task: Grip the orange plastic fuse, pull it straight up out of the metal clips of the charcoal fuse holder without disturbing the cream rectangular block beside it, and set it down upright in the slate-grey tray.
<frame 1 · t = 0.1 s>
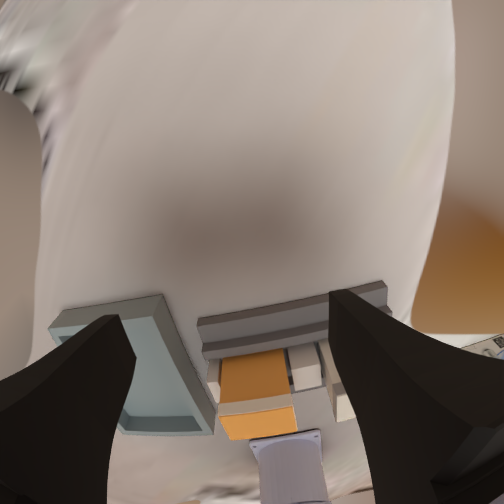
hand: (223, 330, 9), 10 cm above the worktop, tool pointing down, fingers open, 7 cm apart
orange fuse: (256, 364, 21), point 1 cm above the worktop, touching fuse holder
cream rectangular block: (346, 345, 21), point 1 cm above the worktop, touching fuse holder
light bulb box: (476, 358, 25), on the worktop
fuse holder: (299, 347, 22), on the worktop
slate tray: (140, 369, 23), on the worktop
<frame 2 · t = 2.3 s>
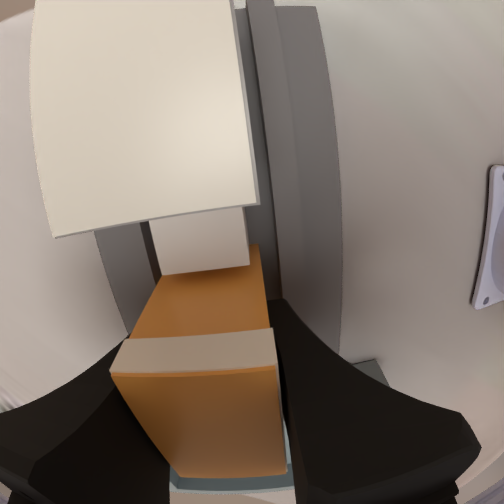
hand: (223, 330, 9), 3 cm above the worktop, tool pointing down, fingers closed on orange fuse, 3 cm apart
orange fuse: (225, 304, 11), point 1 cm above the worktop, touching fuse holder, gripper
cream rectangular block: (192, 104, 8), point 1 cm above the worktop, touching fuse holder
fuse holder: (211, 204, 10), on the worktop
slate tray: (255, 430, 16), on the worktop
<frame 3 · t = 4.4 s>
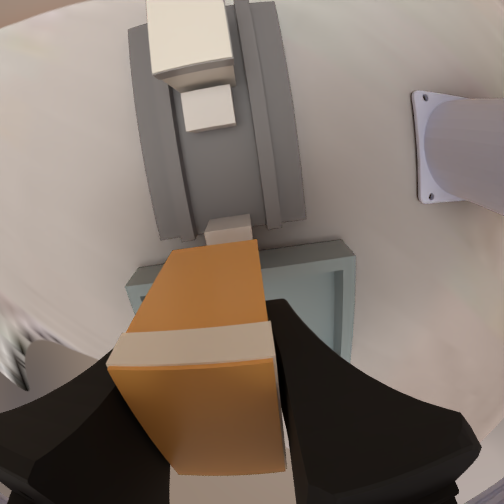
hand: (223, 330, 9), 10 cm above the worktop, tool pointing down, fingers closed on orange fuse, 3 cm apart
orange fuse: (224, 300, 11), point 8 cm above the worktop, touching gripper
cream rectangular block: (204, 56, 13), point 1 cm above the worktop, touching fuse holder
fuse holder: (214, 114, 16), on the worktop
slate tray: (248, 317, 21), on the worktop
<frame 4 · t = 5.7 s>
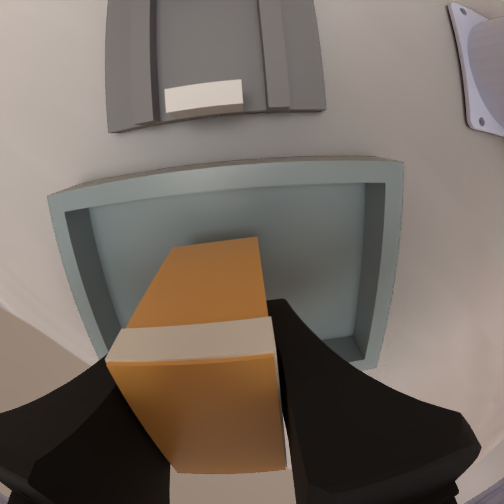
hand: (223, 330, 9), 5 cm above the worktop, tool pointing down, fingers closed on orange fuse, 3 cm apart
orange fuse: (224, 298, 11), point 3 cm above the worktop, touching gripper
slate tray: (229, 268, 14), on the worktop
when the fingers open (4 cm above the worktop, at t = 6.6 s): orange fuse drops 2 cm, resting on slate tray.
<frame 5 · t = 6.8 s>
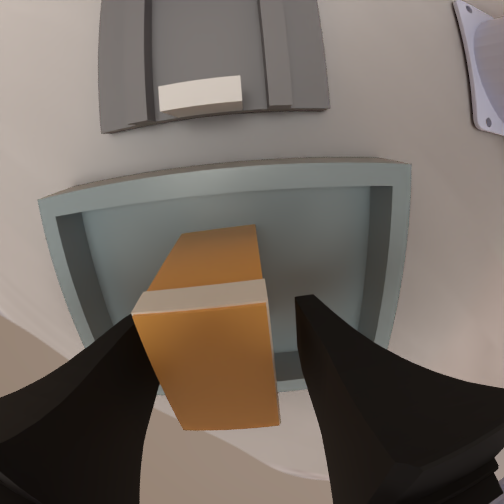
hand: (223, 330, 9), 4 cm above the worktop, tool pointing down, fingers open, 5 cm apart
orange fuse: (226, 278, 12), point 1 cm above the worktop, touching slate tray
slate tray: (228, 275, 13), on the worktop
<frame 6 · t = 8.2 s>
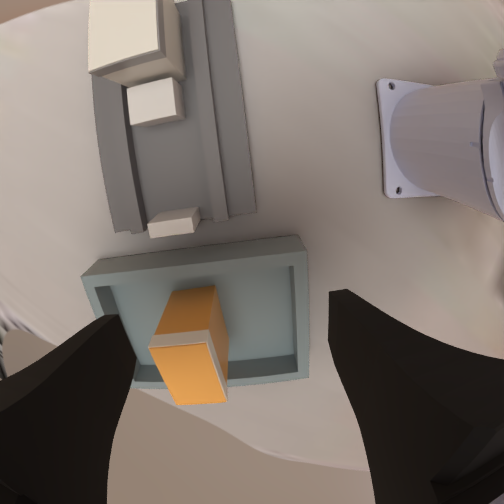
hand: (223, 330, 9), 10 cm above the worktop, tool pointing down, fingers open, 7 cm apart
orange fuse: (201, 316, 20), point 1 cm above the worktop, touching slate tray
cream rectangular block: (158, 51, 13), point 1 cm above the worktop, touching fuse holder
fuse holder: (167, 108, 15), on the worktop
slate tray: (203, 312, 20), on the worktop
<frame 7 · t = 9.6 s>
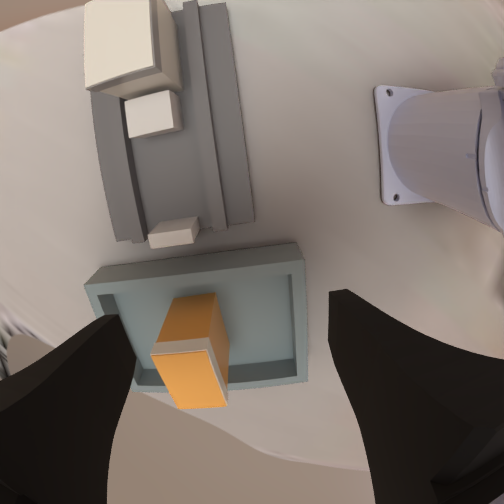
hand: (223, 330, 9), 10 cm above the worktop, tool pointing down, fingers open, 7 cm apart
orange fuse: (202, 322, 20), point 1 cm above the worktop, touching slate tray
cream rectangular block: (155, 62, 13), point 1 cm above the worktop, touching fuse holder
fuse holder: (166, 118, 16), on the worktop
slate tray: (204, 318, 21), on the worktop
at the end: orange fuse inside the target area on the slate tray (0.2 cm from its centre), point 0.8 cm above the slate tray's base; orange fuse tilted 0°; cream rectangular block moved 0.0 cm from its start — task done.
